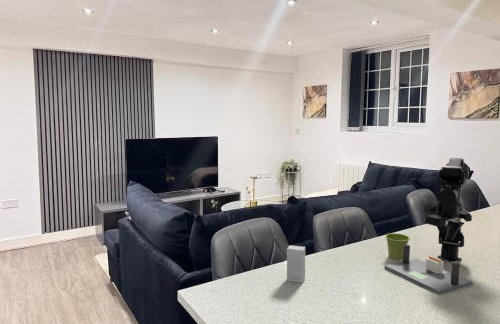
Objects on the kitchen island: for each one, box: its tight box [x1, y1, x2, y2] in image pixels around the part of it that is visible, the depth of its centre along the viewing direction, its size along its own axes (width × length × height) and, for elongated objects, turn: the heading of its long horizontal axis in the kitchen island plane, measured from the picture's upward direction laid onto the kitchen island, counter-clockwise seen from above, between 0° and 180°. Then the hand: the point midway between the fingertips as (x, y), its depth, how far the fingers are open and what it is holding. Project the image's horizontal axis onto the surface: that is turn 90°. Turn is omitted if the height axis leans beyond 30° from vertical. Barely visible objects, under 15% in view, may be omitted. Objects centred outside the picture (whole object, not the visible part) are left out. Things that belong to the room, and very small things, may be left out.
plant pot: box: [385, 232, 410, 260], centre depth 159 cm, size 9×9×9 cm
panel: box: [384, 258, 474, 295], centre depth 140 cm, size 17×24×1 cm
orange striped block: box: [425, 255, 445, 274], centre depth 142 cm, size 3×5×5 cm, turn 25°
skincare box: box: [286, 244, 306, 284], centre depth 137 cm, size 6×4×12 cm
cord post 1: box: [402, 244, 411, 264], centre depth 150 cm, size 2×2×7 cm
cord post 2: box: [450, 262, 461, 285], centre depth 131 cm, size 2×2×7 cm
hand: (446, 240), depth 143 cm, fingers open, 4 cm apart
